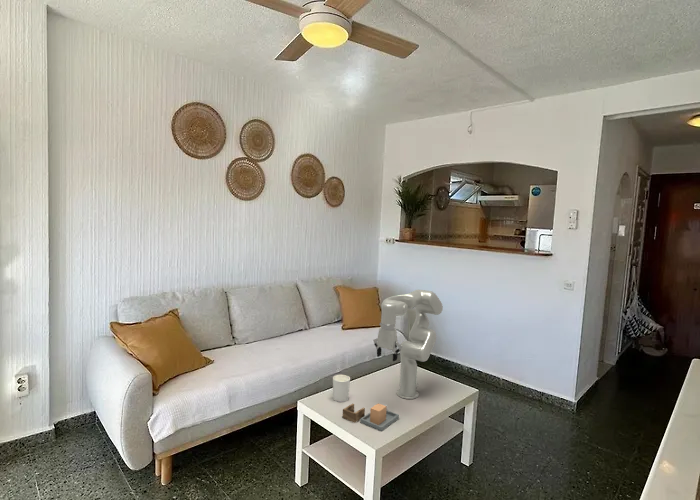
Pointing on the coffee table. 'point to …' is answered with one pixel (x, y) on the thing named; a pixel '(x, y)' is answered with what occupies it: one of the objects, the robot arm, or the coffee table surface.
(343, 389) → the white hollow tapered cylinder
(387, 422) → the tray
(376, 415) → the peach slab with tab
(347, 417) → the frame
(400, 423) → the coffee table surface
